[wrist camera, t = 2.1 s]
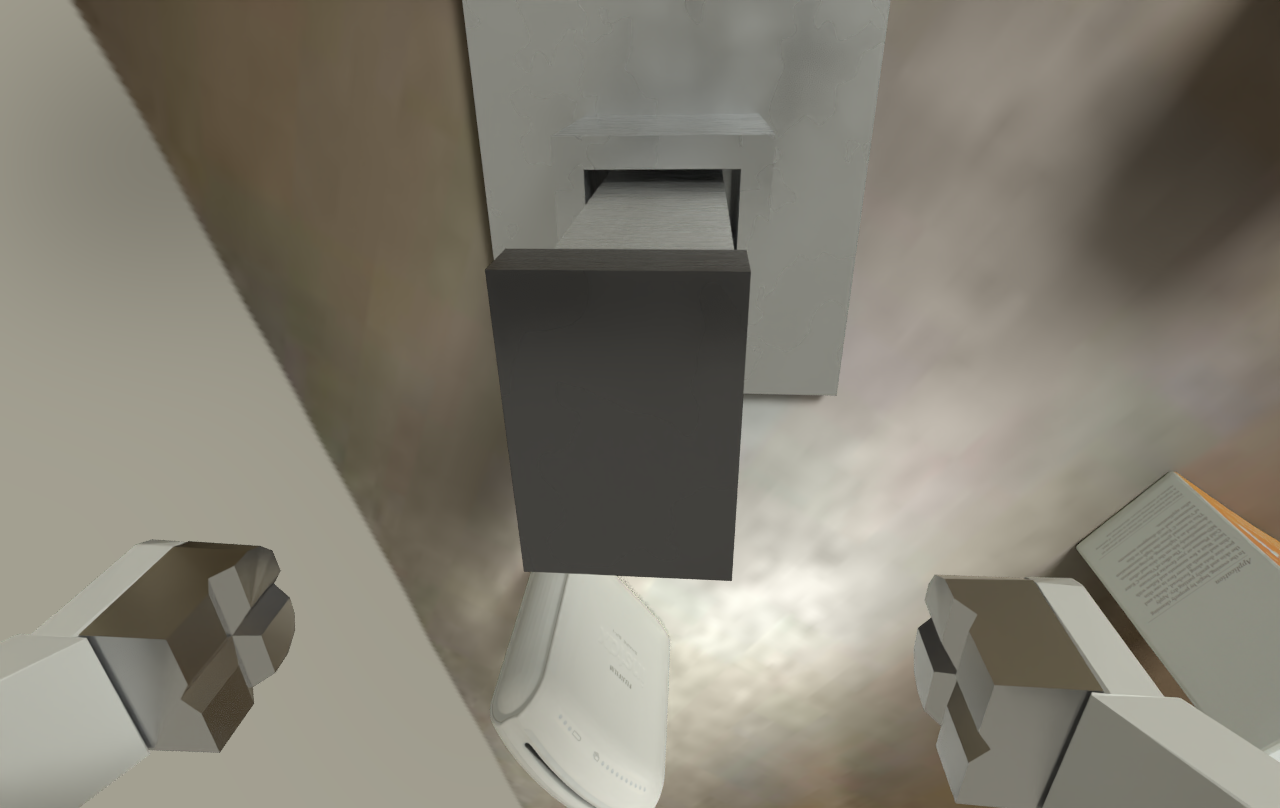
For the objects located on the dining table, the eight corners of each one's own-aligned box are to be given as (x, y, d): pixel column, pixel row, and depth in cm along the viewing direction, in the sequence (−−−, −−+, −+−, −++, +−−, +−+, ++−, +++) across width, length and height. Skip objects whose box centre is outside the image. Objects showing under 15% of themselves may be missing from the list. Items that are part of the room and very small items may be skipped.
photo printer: (681, 635, 42) (674, 839, 31) (628, 660, 44) (603, 863, 33) (578, 526, 39) (530, 714, 28) (524, 558, 40) (458, 747, 29)
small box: (1279, 538, 35) (1555, 775, 24) (1173, 610, 38) (1375, 853, 27) (1171, 464, 34) (1411, 680, 22) (1069, 544, 37) (1237, 772, 25)
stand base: (466, -40, 26) (207, -132, 12) (889, -53, 25) (1119, -173, 11) (515, 377, 34) (392, 594, 21) (832, 384, 33) (921, 620, 20)
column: (621, 129, 27) (485, 269, 10) (720, 128, 27) (750, 271, 10) (625, 274, 30) (524, 571, 13) (715, 274, 30) (731, 581, 13)
